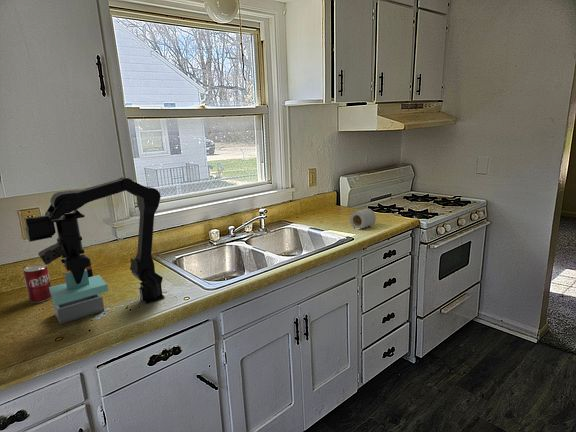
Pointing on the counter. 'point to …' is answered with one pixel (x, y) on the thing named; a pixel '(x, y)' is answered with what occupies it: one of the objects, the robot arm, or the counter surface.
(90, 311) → the tub
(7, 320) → the counter surface
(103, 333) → the counter surface
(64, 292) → the lid
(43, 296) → the soda can
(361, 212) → the toilet paper
